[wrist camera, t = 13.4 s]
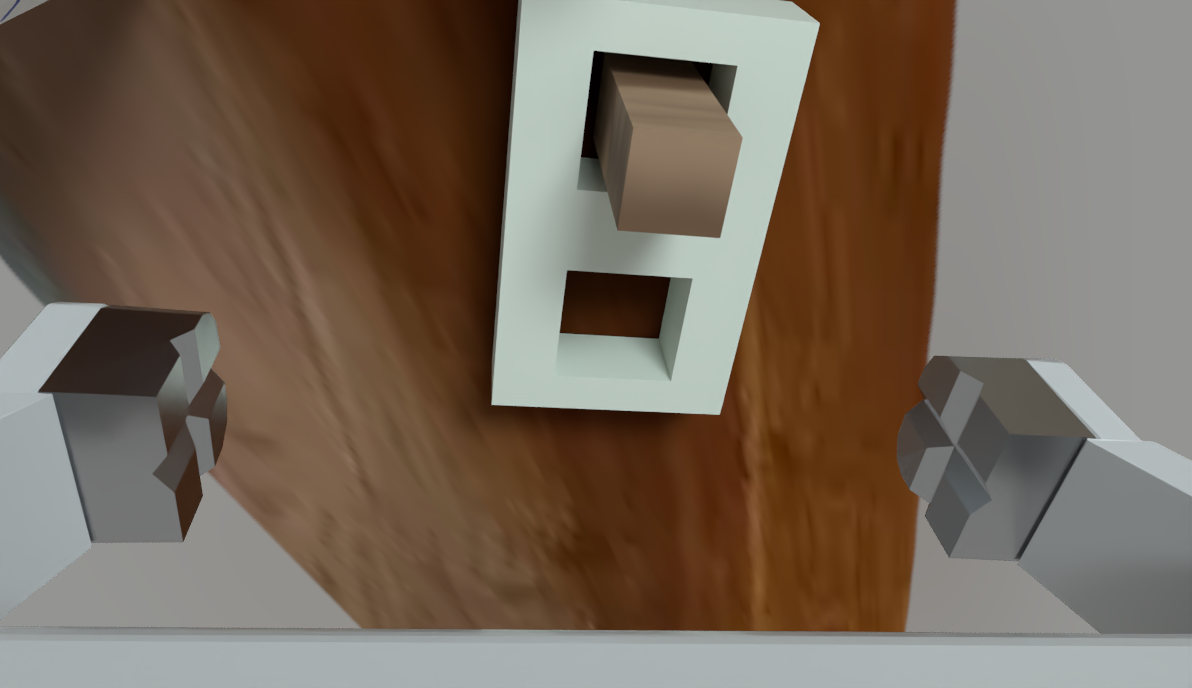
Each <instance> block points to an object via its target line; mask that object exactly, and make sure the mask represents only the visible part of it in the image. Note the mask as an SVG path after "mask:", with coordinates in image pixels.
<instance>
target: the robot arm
mask: <svg viewBox="0 0 1192 688" xmlns="http://www.w3.org/2000/svg"><path fill="white" fill-rule="evenodd" d="M219 349H220V343H219V337H218V331H217V325H216V321H215V319H214V318H213V317H212V315H211V314H210V312H198V311H185V310H172V309H159V308H146V307H133V306H119V305H109V306H108V305H106V304H97V303H74V302H56V303H51V304H48V305H47V306H46V307H45V308H44V309H43V310H42V311H41V312H40V314H38V316H37V317H36V318H35V319H34V320H33V321H32V322H31V324H30V325H29V326H28V327H27V328H26V329H25V330H24V332H23V333H22V334H21V335H20V336H19V337H18V339H17V340H16V341H15V342H14V343H13V344H12V345H11V346H10V348H9V349H8V350H7V351H6V352H5V353H4V355H3V356H2V357H1V358H0V619H1V618H3V617H4V616H5V615H6V614H8V613H9V612H10V611H11V610H13V609H14V608H15V607H16V606H18V605H19V604H20V603H21V602H23V601H24V600H25V599H27V598H28V597H29V596H30V595H32V594H33V593H34V592H36V591H37V590H38V589H39V588H41V587H42V586H43V585H44V584H46V583H47V582H48V581H50V580H51V579H52V578H53V577H54V576H56V575H57V574H58V573H60V572H61V571H62V570H64V568H66V567H67V566H69V565H70V564H71V563H72V562H74V561H75V560H76V559H78V558H79V557H80V556H81V555H83V554H84V553H85V552H86V551H88V550H89V549H90V548H92V544H91V543H100V542H101V543H102V542H103V543H104V542H105V543H111V542H112V543H113V542H183V541H184V539H185V537H186V534H187V532H188V529H189V527H190V525H191V522H192V520H193V518H194V515H195V513H196V511H197V508H198V506H199V503H200V501H201V499H202V496H203V494H202V487H201V481H200V476H201V475H203V474H204V473H206V472H207V471H209V470H210V469H212V468H213V467H215V465H216V462H217V460H218V457H219V455H220V452H221V449H222V446H223V440H224V435H225V429H226V423H227V398H226V389H225V382H224V381H223V380H222V379H221V378H220V377H219V376H218V375H217V374H216V373H215V372H214V371H213V370H212V369H211V366H212V364H213V362H214V360H215V358H216V356H217V354H218V352H219ZM918 387H919V389H920V392H921V395H922V397H923V400H922V401H921V402H920V403H919V404H917V405H916V406H915V407H914V408H912V409H911V410H910V411H909V412H907V413H906V414H905V417H904V420H903V422H902V425H901V428H900V431H899V434H898V439H897V460H898V464H899V468H900V472H901V475H902V477H903V478H904V480H905V482H906V484H907V486H908V488H909V489H910V490H911V491H913V492H914V493H916V494H917V495H918V496H920V497H921V498H923V499H924V500H926V501H927V502H928V503H929V505H928V508H927V511H926V514H925V517H926V519H927V520H928V522H929V524H930V526H931V527H932V529H933V531H934V533H935V534H936V536H937V538H938V539H939V541H940V543H941V545H942V546H943V548H944V550H945V551H946V553H947V555H948V556H949V558H962V559H983V560H984V559H985V560H1004V561H1019V562H1018V564H1017V565H1019V566H1020V567H1021V568H1022V569H1024V570H1025V571H1026V572H1027V573H1028V574H1030V575H1031V576H1032V577H1033V578H1034V579H1036V580H1037V581H1038V582H1039V583H1040V584H1042V585H1043V586H1044V587H1045V588H1047V589H1048V590H1049V591H1050V592H1051V593H1052V594H1054V595H1055V596H1056V597H1057V598H1059V599H1060V600H1061V601H1062V602H1063V603H1064V604H1066V605H1067V606H1068V607H1069V608H1070V609H1072V610H1073V611H1074V612H1075V613H1076V614H1078V615H1079V616H1080V617H1081V618H1083V619H1084V620H1085V621H1086V622H1087V623H1089V624H1090V625H1091V626H1092V627H1093V628H1095V629H1096V630H1097V631H1098V632H1099V633H1101V634H1085V633H1083V634H1080V633H951V632H949V633H947V632H945V633H944V632H937V633H936V632H816V631H618V630H469V629H325V628H323V629H321V628H317V629H316V628H181V627H178V628H177V627H176V628H175V627H174V628H173V627H38V626H37V627H36V626H30V627H28V626H0V688H1192V461H1191V460H1189V459H1187V458H1185V457H1183V456H1181V455H1179V454H1177V453H1175V452H1173V451H1171V450H1169V449H1167V448H1165V447H1163V446H1161V445H1159V444H1157V443H1155V442H1151V441H1141V440H1140V439H1139V438H1138V437H1137V436H1136V435H1135V434H1134V433H1133V432H1132V431H1131V430H1130V429H1129V428H1128V427H1127V426H1126V425H1125V424H1124V423H1123V422H1122V421H1121V420H1120V419H1119V418H1118V417H1117V415H1116V414H1115V413H1114V412H1112V410H1111V409H1110V408H1109V407H1108V406H1107V405H1106V404H1105V403H1104V402H1103V401H1102V400H1101V399H1100V398H1099V397H1098V396H1097V395H1096V394H1095V393H1094V392H1093V391H1092V390H1091V389H1090V388H1089V387H1088V386H1087V385H1086V384H1085V383H1084V382H1083V381H1082V380H1081V379H1080V378H1079V377H1078V376H1077V375H1076V374H1075V373H1074V372H1073V371H1072V370H1071V368H1069V366H1067V364H1065V363H1063V362H1060V361H1058V360H1055V359H1045V358H991V357H990V358H989V357H960V356H934V357H933V358H932V359H931V360H930V361H929V363H928V364H927V365H926V366H925V368H924V370H923V372H922V375H921V377H920V379H919V382H918Z"/></svg>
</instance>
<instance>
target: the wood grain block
mask: <svg viewBox="0 0 1192 688" xmlns="http://www.w3.org/2000/svg"><path fill="white" fill-rule="evenodd" d="M742 139H743V137H742V136H741V134H740V133H739V131H738V130H737V128H736V127H735V125H734V124H733V122H732V121H731V119H730V118H729V117H728V115H727V114H726V112H725V111H724V109H723V108H722V106H721V105H720V103H719V102H718V100H717V99H716V97H715V96H714V94H713V93H712V92H711V90H710V89H709V87H708V86H707V84H706V83H705V81H704V80H703V78H702V77H701V75H700V74H699V72H698V71H697V69H696V68H695V66H694V65H693V64H692V62H691V61H685V60H676V59H666V58H657V57H647V56H638V55H628V54H619V53H609V52H604V57H603V65H602V73H601V80H600V88H599V96H598V104H597V111H596V119H595V127H594V135H593V140H594V143H595V147H596V151H597V155H598V159H599V162H600V166H601V170H602V174H603V177H604V181H605V185H606V189H607V193H608V196H609V200H610V204H611V208H612V212H613V215H614V219H615V223H616V227H617V231H630V232H643V233H657V234H670V235H684V236H697V237H711V238H720V237H721V232H722V228H723V223H724V219H725V215H726V210H727V206H728V201H729V197H730V192H731V188H732V184H733V179H734V175H735V170H736V166H737V161H738V157H739V152H740V148H741V144H742Z"/></svg>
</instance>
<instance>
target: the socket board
mask: <svg viewBox="0 0 1192 688" xmlns="http://www.w3.org/2000/svg"><path fill="white" fill-rule="evenodd" d="M819 25H820V23H819V22H818V21H816V20H815V19H814V18H812V17H811V16H810V15H808V14H807V13H806V12H804V11H803V10H802V9H801V8H799V7H798V6H797V5H795V4H794V3H793V2H789V1H781V0H518V13H517V27H516V40H515V54H514V68H513V81H512V95H511V109H510V122H509V136H508V150H507V163H506V177H505V191H504V204H503V218H502V232H501V245H500V259H499V273H498V286H497V300H496V314H495V327H494V341H493V355H492V405H506V406H530V407H553V408H576V409H599V410H623V411H646V412H669V413H693V414H716V415H720V412H721V408H722V404H723V400H724V396H725V392H726V388H727V384H728V380H729V377H730V373H731V369H732V365H733V361H734V357H735V353H736V349H737V345H738V341H739V337H740V334H741V330H742V326H743V322H744V318H745V314H746V310H747V306H748V302H749V298H750V294H751V291H752V287H753V283H754V279H755V275H756V271H757V267H758V263H759V259H760V255H761V251H762V248H763V244H764V240H765V236H766V232H767V228H768V224H769V220H770V216H771V212H772V209H773V205H774V201H775V197H776V193H777V189H778V185H779V181H780V177H781V173H782V169H783V166H784V162H785V158H786V154H787V150H788V146H789V142H790V138H791V134H792V130H793V126H794V123H795V119H796V115H797V111H798V107H799V103H800V99H801V95H802V91H803V87H804V83H805V80H806V76H807V72H808V68H809V64H810V60H811V56H812V52H813V48H814V44H815V40H816V37H817V33H818V29H819ZM594 51H603V52H612V53H622V54H631V55H641V56H650V57H660V58H669V59H679V60H688V61H698V62H707V63H713V65H712V70H711V75H710V80H709V86H708V87H709V89H710V90H711V92H712V93H713V94H714V96H715V97H716V99H717V100H718V102H719V103H720V105H721V106H722V108H723V109H724V111H725V112H726V114H727V115H728V117H729V118H730V119H731V121H732V122H733V124H734V125H735V127H736V128H737V130H738V131H739V133H740V134H741V136H742V137H743V139H742V144H741V148H740V152H739V157H738V161H737V166H736V170H735V175H734V179H733V184H732V188H731V192H730V197H729V201H728V206H727V210H726V215H725V219H724V223H723V228H722V232H721V237H720V238H711V237H697V236H684V235H670V234H657V233H643V232H630V231H617V227H616V223H615V219H614V215H613V212H612V208H611V204H610V200H609V196H608V193H607V189H606V185H605V181H604V177H603V174H602V170H601V166H600V162H599V159H595V158H583V157H581V151H582V143H583V134H584V126H585V118H586V110H587V101H588V93H589V85H590V77H591V69H592V60H593V52H594ZM567 270H572V271H587V272H602V273H617V274H632V275H647V276H662V277H671V279H670V284H669V290H668V295H667V300H666V305H665V310H664V315H663V320H662V325H661V330H660V335H659V339H653V338H635V337H617V336H599V335H582V334H564V333H559V332H560V324H561V315H562V307H563V299H564V291H565V283H566V274H567Z"/></svg>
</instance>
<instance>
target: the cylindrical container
mask: <svg viewBox="0 0 1192 688" xmlns="http://www.w3.org/2000/svg"><path fill="white" fill-rule="evenodd" d="M46 1H48V0H0V24H2V23H4V22H6V21H8V20H10V19H12V18H14V17H16V16H18V15H20V14H22V13H24V12H26V11H28V10H30V9H32V8H34V7H36V6H38V5H40V4H42V3H44V2H46Z"/></svg>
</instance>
